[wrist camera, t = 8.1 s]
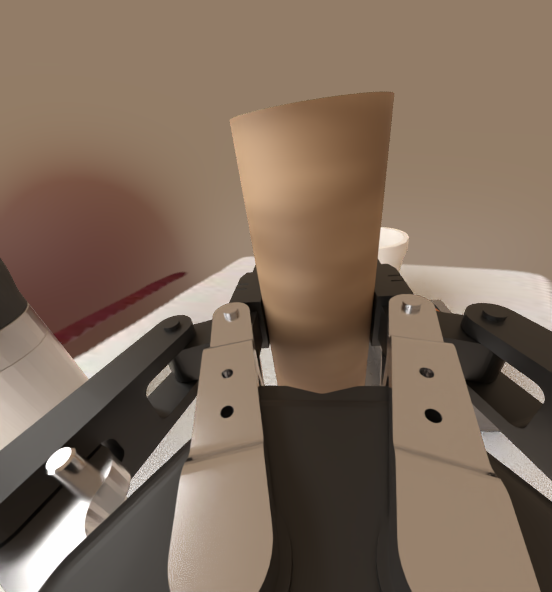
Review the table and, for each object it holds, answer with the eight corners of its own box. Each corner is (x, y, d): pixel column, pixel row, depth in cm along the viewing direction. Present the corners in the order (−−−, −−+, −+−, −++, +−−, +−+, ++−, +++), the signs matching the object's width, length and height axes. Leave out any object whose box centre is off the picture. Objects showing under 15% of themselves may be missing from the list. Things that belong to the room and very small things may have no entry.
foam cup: (337, 316, 44) (338, 247, 37) (346, 289, 51) (348, 227, 44) (396, 325, 40) (409, 249, 33) (398, 294, 47) (409, 227, 40)
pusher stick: (283, 461, 12) (207, 117, 5) (287, 392, 16) (246, 124, 8) (367, 465, 12) (424, 80, 4) (353, 392, 15) (371, 104, 8)
